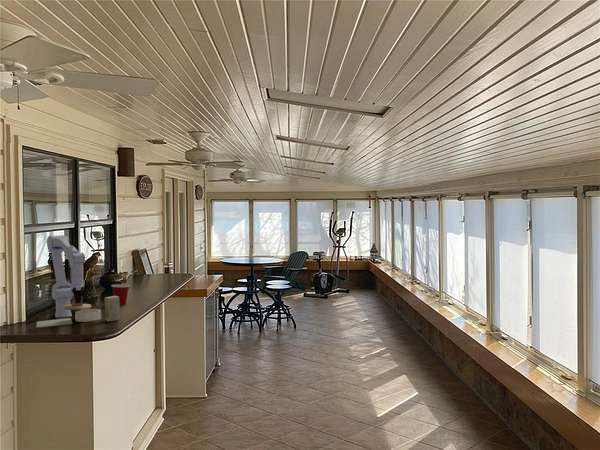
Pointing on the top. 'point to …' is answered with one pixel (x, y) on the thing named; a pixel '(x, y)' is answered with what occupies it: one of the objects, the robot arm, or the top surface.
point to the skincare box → (112, 308)
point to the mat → (54, 322)
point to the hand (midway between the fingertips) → (78, 302)
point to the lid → (76, 305)
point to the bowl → (88, 315)
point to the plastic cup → (121, 292)
